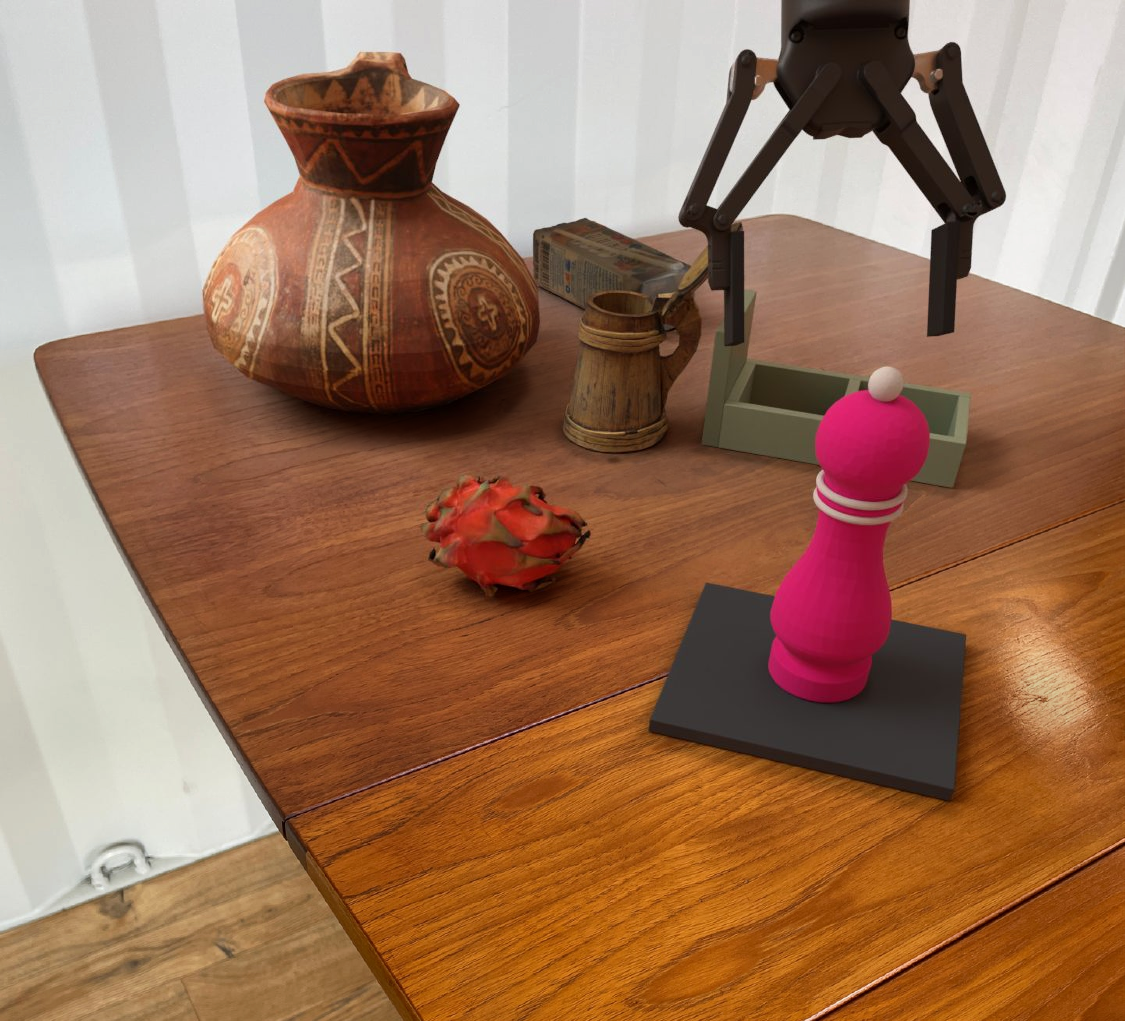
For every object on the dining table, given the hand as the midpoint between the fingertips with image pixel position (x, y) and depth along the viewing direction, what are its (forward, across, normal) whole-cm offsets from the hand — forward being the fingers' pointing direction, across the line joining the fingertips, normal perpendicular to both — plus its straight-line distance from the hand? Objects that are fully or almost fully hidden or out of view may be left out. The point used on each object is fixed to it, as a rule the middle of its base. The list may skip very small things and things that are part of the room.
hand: (837, 340), depth 70 cm
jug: (-1, +33, -36) cm, 49 cm away
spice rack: (+7, -7, -25) cm, 27 cm away
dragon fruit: (+15, +22, -5) cm, 27 cm away
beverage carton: (-8, +9, -54) cm, 55 cm away
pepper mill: (+21, +3, +7) cm, 22 cm away
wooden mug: (+5, +10, -26) cm, 28 cm away
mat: (+21, +3, +7) cm, 23 cm away
